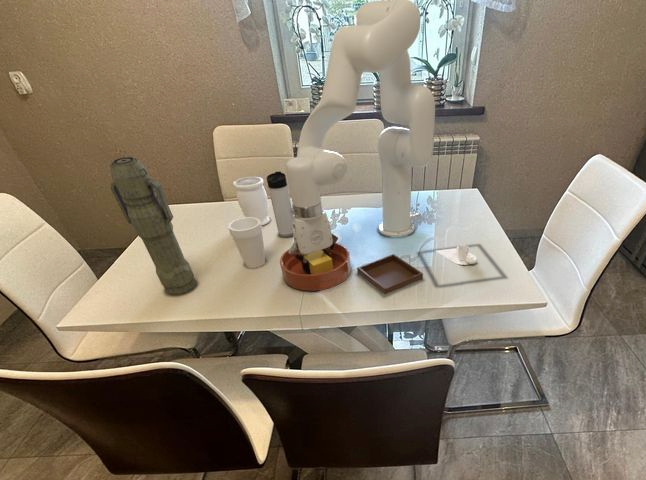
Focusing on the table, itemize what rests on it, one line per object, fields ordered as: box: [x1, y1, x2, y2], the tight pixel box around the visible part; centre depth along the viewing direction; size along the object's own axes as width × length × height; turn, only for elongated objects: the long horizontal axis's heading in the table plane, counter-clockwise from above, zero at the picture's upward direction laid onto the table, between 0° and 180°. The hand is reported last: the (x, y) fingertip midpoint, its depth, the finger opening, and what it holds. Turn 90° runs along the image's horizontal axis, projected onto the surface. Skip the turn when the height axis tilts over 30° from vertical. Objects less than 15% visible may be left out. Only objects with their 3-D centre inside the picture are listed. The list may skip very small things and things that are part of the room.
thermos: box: [109, 156, 198, 297], centre depth 99 cm, size 9×12×35 cm
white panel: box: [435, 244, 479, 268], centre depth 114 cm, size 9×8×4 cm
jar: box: [233, 176, 271, 227], centre depth 137 cm, size 11×10×15 cm
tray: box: [357, 253, 424, 296], centre depth 109 cm, size 13×14×2 cm
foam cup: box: [227, 216, 266, 269], centre depth 115 cm, size 10×9×13 cm
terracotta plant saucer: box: [279, 242, 352, 292], centre depth 111 cm, size 20×20×6 cm
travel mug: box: [266, 171, 294, 238], centre depth 128 cm, size 6×7×20 cm
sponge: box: [307, 250, 333, 275], centre depth 111 cm, size 6×9×5 cm, turn 33°
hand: (317, 268), depth 112 cm, fingers closed on sponge, 6 cm apart
